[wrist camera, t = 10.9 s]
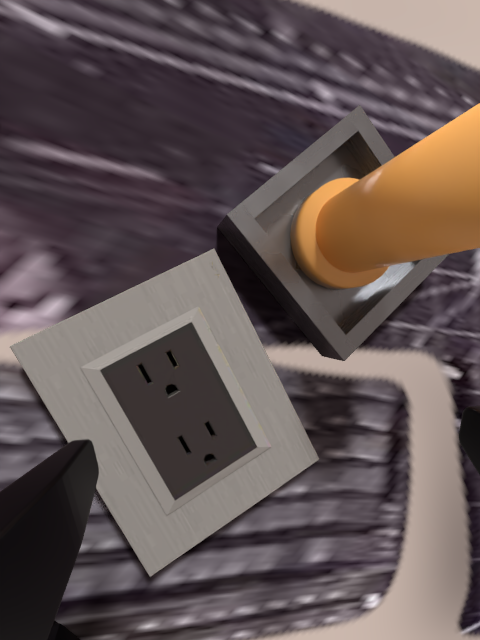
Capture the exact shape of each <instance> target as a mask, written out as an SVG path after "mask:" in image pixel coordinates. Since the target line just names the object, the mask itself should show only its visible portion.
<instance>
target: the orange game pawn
mask: <svg viewBox="0 0 480 640" xmlns="http://www.w3.org/2000/svg"><path fill="white" fill-rule="evenodd" d="M290 240H291V247H292V251H293V255H294V257H295V260H296V262H297V263H298V265H299V267H300V268H301V270H302V271H303V272H304V273H305V274H306V276H307V277H309V278H310V279H311V280H312V281H314V282H315V283H317V284H319V285H321V286H323V287H326V288H330V289H347V288H354V287H361V286H365V285H368V284H370V283H372V282H374V281H375V280H377V279H378V278H380V277H381V276H382V275H383V274H384V273H385V272H386V270H387V269H388V268H389V266H392V265H397V264H402V263H406V262H411V261H416V260H421V259H426V258H431V257H436V256H441V255H445V254H450V253H455V252H460V251H465V250H470V249H475V248H480V103H479V104H478V105H476V106H475V107H473V108H471V109H470V110H468V111H467V112H465V113H464V114H462V115H461V116H459V117H457V118H456V119H454V120H453V121H451V122H450V123H448V124H446V125H445V126H443V127H442V128H440V129H439V130H437V131H435V132H434V133H432V134H431V135H429V136H428V137H426V138H424V139H423V140H421V141H420V142H418V143H417V144H415V145H413V146H412V147H410V148H409V149H407V150H406V151H404V152H402V153H401V154H399V155H398V156H396V157H395V158H393V159H392V160H390V161H388V162H387V163H385V164H384V165H382V166H381V167H379V168H377V169H376V170H374V171H373V172H371V173H370V174H368V175H366V176H365V177H363V178H362V179H360V180H359V179H355V178H340V179H335V180H332V181H330V182H328V183H326V184H324V185H323V186H321V187H320V188H319V189H317V190H316V191H315V192H313V193H312V194H311V195H309V196H308V197H307V198H306V199H305V200H304V201H303V202H302V203H301V204H300V206H299V207H298V209H297V211H296V212H295V215H294V217H293V220H292V225H291V232H290Z"/></svg>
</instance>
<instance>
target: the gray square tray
mask: <svg viewBox="0 0 480 640" xmlns="http://www.w3.org/2000/svg"><path fill="white" fill-rule="evenodd" d="M393 158H395V157H394V156H393V154H392V153H391V151H390V150H389V148H388V147H387V145H386V144H385V142H384V141H383V139H382V138H381V136H380V135H379V133H378V132H377V130H376V129H375V127H374V126H373V124H372V123H371V121H370V120H369V118H368V117H367V115H366V114H365V112H364V111H363V109H362V108H361V106H360V105H359V106H358V107H357V108H356V109H355V110H353V111H352V112H351V113H350V114H349V115H347V116H346V117H345V118H344V119H342V120H341V121H340V122H339V123H338V124H336V125H335V126H334V127H333V128H332V129H330V130H329V131H328V132H327V133H325V134H324V135H323V136H322V137H321V138H319V139H318V140H317V141H316V142H315V143H313V144H312V145H311V146H310V147H309V148H307V149H306V150H305V151H304V152H302V153H301V154H300V155H299V156H298V157H296V158H295V159H294V160H293V161H292V162H290V163H289V164H288V165H287V166H285V167H284V168H283V169H282V170H281V171H279V172H278V173H277V174H276V175H275V176H273V177H272V178H271V179H270V180H268V181H267V182H266V183H265V184H264V185H262V186H261V187H260V188H259V189H258V190H256V191H255V192H254V193H253V194H251V195H250V196H249V197H248V198H247V199H245V200H244V201H243V202H242V203H241V204H239V205H238V206H237V207H236V208H234V209H233V210H232V211H231V212H230V213H228V214H227V215H226V217H225V218H224V219H223V220H222V222H221V223H220V224H219V225H218V229H219V230H220V231H221V232H222V234H223V235H224V236H225V237H226V239H227V240H228V241H229V242H230V243H231V245H232V246H233V247H234V248H235V250H236V251H237V252H238V253H239V254H240V256H241V257H242V258H243V259H244V261H245V262H246V263H247V264H248V266H249V267H250V268H251V269H252V270H253V272H254V273H255V274H256V275H257V277H258V278H259V279H260V280H261V282H262V283H263V284H264V285H265V286H266V288H267V289H268V290H269V291H270V293H271V294H272V295H273V296H274V298H275V299H276V300H277V301H278V302H279V304H280V305H281V306H282V307H283V309H284V310H285V311H286V312H287V314H288V315H289V316H290V317H291V318H292V320H293V321H294V322H295V323H296V325H297V326H298V327H299V328H300V330H301V331H302V332H303V333H304V334H305V336H306V337H307V338H308V339H309V341H310V342H311V343H312V344H313V346H314V347H315V348H316V349H317V350H318V352H319V353H320V354H321V355H322V356H324V357H329V358H333V359H337V360H342V361H345V360H346V359H347V358H348V357H349V356H350V355H351V354H352V353H353V352H354V351H355V350H356V349H357V348H358V347H359V346H360V345H361V344H362V343H363V342H364V340H365V339H366V338H367V337H368V336H369V335H370V334H371V333H372V332H373V331H374V330H375V329H376V328H377V327H378V326H379V325H380V324H381V323H382V322H383V321H384V320H385V319H386V318H387V317H388V316H389V315H390V314H391V313H392V312H393V311H394V310H395V309H396V308H397V307H398V306H399V305H400V304H401V303H402V302H403V301H404V300H405V299H406V298H407V296H408V295H409V294H410V293H411V292H412V291H413V290H414V289H415V288H416V287H417V286H418V285H419V284H420V283H421V282H422V281H423V280H424V279H425V278H426V277H427V276H428V275H429V274H430V273H431V272H432V271H433V270H434V269H435V268H436V267H437V266H438V265H439V264H440V263H441V262H442V261H443V260H444V259H445V258H446V257H447V256H448V255H449V254H445V255H441V256H436V257H431V258H426V259H421V260H416V261H411V262H406V263H402V264H397V265H392V266H389V268H388V269H387V270H386V272H385V273H384V274H383V275H382V276H381V277H380V278H378V279H377V280H375V281H374V282H372V283H370V284H368V285H365V286H361V287H354V288H347V289H330V288H326V287H323V286H321V285H319V284H317V283H315V282H314V281H312V280H311V279H310V278H309V277H307V276H306V274H305V273H304V272H303V271H302V270H301V268H300V267H299V265H298V263H297V262H296V260H295V257H294V255H293V251H292V247H291V240H290V232H291V225H292V220H293V217H294V215H295V212H296V211H297V209H298V207H299V206H300V204H301V203H302V202H303V201H304V200H305V199H306V198H307V197H308V196H309V195H311V194H312V193H313V192H315V191H316V190H317V189H319V188H320V187H321V186H323V185H324V184H326V183H328V182H330V181H332V180H335V179H340V178H355V179H359V180H360V179H362V178H363V177H365V176H366V175H368V174H370V173H371V172H373V171H374V170H376V169H377V168H379V167H381V166H382V165H384V164H385V163H387V162H388V161H390V160H392V159H393Z"/></svg>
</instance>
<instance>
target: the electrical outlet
mask: <svg viewBox="0 0 480 640" xmlns="http://www.w3.org/2000/svg"><path fill="white" fill-rule="evenodd" d="M10 348H11V349H12V351H13V353H14V354H15V356H16V358H17V359H18V361H19V363H20V364H21V366H22V368H23V369H24V371H25V372H26V374H27V376H28V377H29V379H30V381H31V382H32V384H33V386H34V387H35V389H36V391H37V392H38V394H39V395H40V397H41V399H42V400H43V402H44V404H45V405H46V407H47V409H48V410H49V412H50V414H51V415H52V417H53V418H54V420H55V422H56V423H57V425H58V427H59V428H60V430H61V432H62V433H63V435H64V437H65V438H66V440H67V442H68V443H69V442H71V441H73V440H82V439H89V440H91V441H92V443H93V446H94V450H95V454H96V458H97V462H98V467H99V476H98V481H97V485H96V489H97V491H98V493H99V494H100V496H101V497H102V499H103V501H104V502H105V504H106V506H107V507H108V509H109V511H110V512H111V514H112V516H113V517H114V519H115V520H116V522H117V524H118V525H119V527H120V529H121V530H122V532H123V534H124V535H125V537H126V539H127V540H128V542H129V543H130V545H131V547H132V548H133V550H134V552H135V553H136V555H137V557H138V558H139V560H140V562H141V563H142V565H143V567H144V568H145V570H146V571H147V573H148V575H149V576H150V577H151V576H152V575H154V574H155V573H156V572H158V571H159V570H161V569H162V568H164V567H165V566H167V565H168V564H169V563H171V562H172V561H174V560H175V559H177V558H178V557H180V556H181V555H182V554H184V553H185V552H187V551H188V550H190V549H191V548H192V547H194V546H195V545H197V544H198V543H200V542H201V541H203V540H204V539H205V538H207V537H208V536H210V535H211V534H213V533H214V532H216V531H217V530H218V529H220V528H221V527H223V526H224V525H226V524H227V523H229V522H230V521H231V520H233V519H234V518H236V517H237V516H239V515H240V514H241V513H243V512H244V511H246V510H247V509H249V508H250V507H252V506H253V505H254V504H256V503H257V502H259V501H260V500H262V499H263V498H265V497H266V496H267V495H269V494H270V493H272V492H273V491H275V490H276V489H277V488H279V487H280V486H282V485H283V484H285V483H286V482H288V481H289V480H290V479H292V478H293V477H295V476H296V475H298V474H299V473H301V472H302V471H303V470H305V469H306V468H308V467H309V466H311V465H312V464H314V463H315V462H316V461H318V460H319V458H318V456H317V453H316V451H315V449H314V447H313V445H312V443H311V441H310V439H309V437H308V435H307V433H306V431H305V429H304V427H303V425H302V423H301V421H300V419H299V417H298V415H297V413H296V411H295V409H294V407H293V405H292V403H291V401H290V399H289V397H288V395H287V393H286V391H285V389H284V387H283V385H282V383H281V381H280V379H279V377H278V375H277V373H276V371H275V369H274V367H273V365H272V363H271V361H270V359H269V357H268V355H267V353H266V351H265V349H264V347H263V345H262V343H261V341H260V339H259V337H258V335H257V333H256V331H255V329H254V327H253V325H252V323H251V321H250V319H249V317H248V315H247V313H246V311H245V309H244V307H243V305H242V303H241V301H240V299H239V297H238V295H237V293H236V291H235V289H234V287H233V285H232V283H231V281H230V279H229V277H228V275H227V273H226V271H225V269H224V267H223V265H222V263H221V261H220V259H219V257H218V255H217V253H216V251H215V249H212V250H210V251H208V252H206V253H204V254H202V255H200V256H198V257H196V258H193V259H191V260H189V261H187V262H185V263H183V264H181V265H179V266H177V267H175V268H173V269H170V270H168V271H166V272H164V273H162V274H160V275H158V276H156V277H154V278H152V279H150V280H147V281H145V282H143V283H141V284H139V285H137V286H135V287H133V288H131V289H129V290H127V291H124V292H122V293H120V294H118V295H116V296H114V297H112V298H110V299H108V300H106V301H104V302H101V303H99V304H97V305H95V306H93V307H91V308H89V309H87V310H85V311H83V312H81V313H78V314H76V315H74V316H72V317H70V318H68V319H66V320H64V321H62V322H60V323H58V324H55V325H53V326H51V327H49V328H47V329H45V330H43V331H41V332H39V333H37V334H35V335H33V336H31V337H28V338H26V339H24V340H22V341H20V342H18V343H16V344H14V345H12V346H10Z"/></svg>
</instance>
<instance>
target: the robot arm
mask: <svg viewBox="0 0 480 640" xmlns="http://www.w3.org/2000/svg"><path fill="white" fill-rule="evenodd" d="M459 440H460V443H461V445H462V447H463V449H464V451H465V452H466V454H467V455H468V457H469V459H470V460H471V462H472V463H473V465H474V467H475V468H476V470H477V471H478V473H479V475H480V406H471V407H467V408H465V409H464V411H463V414H462V420H461V426H460V431H459ZM98 476H99V467H98V462H97V458H96V454H95V450H94V446H93V443H92V441H91V440H89V439H82V440H73V441H71V442H69V443H68V444H67V445H65V446H64V447H62V448H61V449H60V450H58V451H57V452H55V453H54V454H53V455H51V456H50V457H48V458H47V459H46V460H44V461H43V462H41V463H40V464H38V465H37V466H36V467H34V468H33V469H31V470H30V471H29V472H27V473H26V474H24V475H23V476H22V477H20V478H19V479H17V480H16V481H15V482H13V483H12V484H10V485H9V486H8V487H6V488H5V489H3V490H2V491H1V492H0V640H80V639H79V638H77V637H76V636H75V635H74V634H72V633H71V632H70V631H69V630H68V629H66V628H65V627H64V626H63V625H61V624H58V623H57V622H56V621H55V617H56V614H57V611H58V609H59V606H60V603H61V600H62V597H63V595H64V592H65V589H66V586H67V583H68V581H69V578H70V575H71V572H72V570H73V567H74V564H75V561H76V558H77V556H78V553H79V550H80V547H81V544H82V540H83V536H84V533H85V529H86V525H87V521H88V517H89V513H90V509H91V505H92V501H93V497H94V493H95V489H96V485H97V481H98Z"/></svg>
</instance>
